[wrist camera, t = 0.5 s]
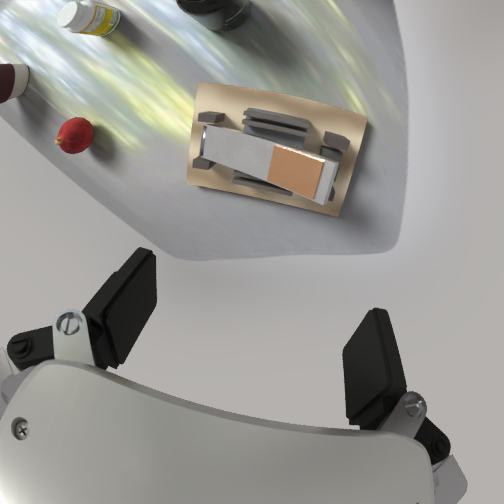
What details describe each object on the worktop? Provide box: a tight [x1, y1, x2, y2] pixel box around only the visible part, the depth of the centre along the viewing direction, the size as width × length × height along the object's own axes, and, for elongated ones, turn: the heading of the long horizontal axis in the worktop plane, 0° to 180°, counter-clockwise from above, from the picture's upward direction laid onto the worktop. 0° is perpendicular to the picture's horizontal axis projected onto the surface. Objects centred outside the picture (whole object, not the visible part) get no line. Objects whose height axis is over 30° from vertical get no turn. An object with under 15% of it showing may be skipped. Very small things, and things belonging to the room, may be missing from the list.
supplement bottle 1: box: [57, 0, 120, 36], centre depth 20 cm, size 5×5×10 cm
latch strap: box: [199, 124, 339, 205], centre depth 26 cm, size 4×16×1 cm, turn 80°
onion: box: [55, 117, 94, 154], centre depth 31 cm, size 6×6×8 cm
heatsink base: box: [186, 82, 368, 217], centre depth 31 cm, size 14×21×6 cm, turn 80°
